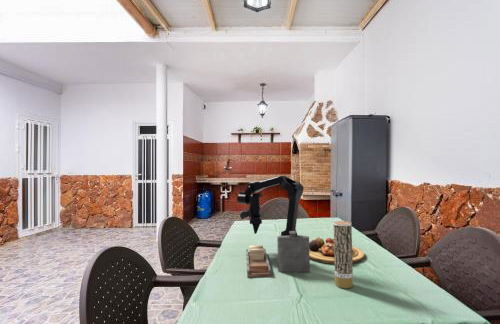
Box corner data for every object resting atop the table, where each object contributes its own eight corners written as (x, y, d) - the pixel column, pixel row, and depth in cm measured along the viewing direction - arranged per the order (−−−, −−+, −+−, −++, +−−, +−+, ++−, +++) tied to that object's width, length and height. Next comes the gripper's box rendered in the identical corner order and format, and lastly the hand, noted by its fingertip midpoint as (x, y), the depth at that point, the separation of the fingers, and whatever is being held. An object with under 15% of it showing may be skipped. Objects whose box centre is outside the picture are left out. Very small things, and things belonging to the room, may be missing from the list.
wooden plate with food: (371, 268, 127) (371, 250, 127) (301, 263, 134) (301, 246, 134) (358, 248, 159) (358, 233, 159) (302, 245, 165) (302, 231, 165)
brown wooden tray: (246, 254, 149) (246, 247, 149) (265, 253, 149) (265, 246, 149) (247, 277, 119) (247, 268, 119) (271, 276, 119) (270, 268, 119)
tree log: (338, 280, 114) (337, 220, 114) (355, 284, 110) (353, 222, 110) (332, 286, 109) (330, 223, 109) (349, 290, 105) (347, 225, 105)
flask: (278, 269, 127) (277, 230, 127) (309, 269, 126) (308, 230, 126) (278, 272, 124) (277, 232, 124) (310, 272, 122) (309, 232, 122)
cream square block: (249, 255, 143) (249, 245, 143) (262, 254, 144) (262, 245, 144) (249, 260, 136) (249, 250, 136) (264, 259, 137) (263, 249, 137)
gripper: (240, 202, 158) (240, 229, 158) (239, 208, 139) (240, 238, 139) (259, 202, 158) (259, 229, 158) (261, 207, 140) (262, 238, 140)
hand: (255, 233), depth 149 cm, fingers closed
